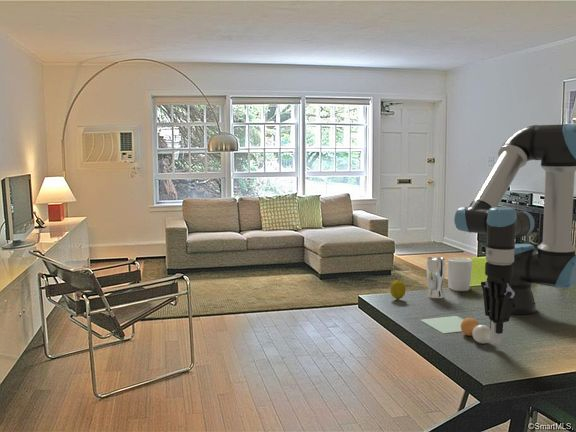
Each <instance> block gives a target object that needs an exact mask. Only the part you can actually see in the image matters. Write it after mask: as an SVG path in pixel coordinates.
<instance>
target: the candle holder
mask: <svg viewBox="0 0 576 432" xmlns="http://www.w3.org/2000/svg"><path fill="white" fill-rule="evenodd" d="M473 262H474V260H473V259H471V258H468V257H462V256H461V257H460V256H459V257H458V256H454V257H448V258H447V287H448V289H449V288H451V289H452V291H456V292H457V291H458V292H467V291H469V290H470V288H471V280H472V268H473ZM451 289H450V290H451Z"/></svg>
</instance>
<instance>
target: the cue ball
mask: <svg viewBox="0 0 576 432" xmlns="http://www.w3.org/2000/svg"><path fill="white" fill-rule="evenodd" d="M490 333H491V330H490V326H488V325H485V324H479V325H477V326H476V327H475V328H474V329H473V332H472V335H473V336H472V338H473V339H474V341H475V342H477V343H478V344H487V343H490Z"/></svg>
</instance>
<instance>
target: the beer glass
mask: <svg viewBox="0 0 576 432" xmlns="http://www.w3.org/2000/svg"><path fill="white" fill-rule="evenodd" d="M445 277H446V258H445V257H442V256H441V257H439V256H430V257H427V259H426V278H427V286H428V287H427V293H426V298H429V299H434V300H436V299H437V300H438V299H439V300H441V299H443V298H444V293H443V285H444V281H445Z"/></svg>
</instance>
